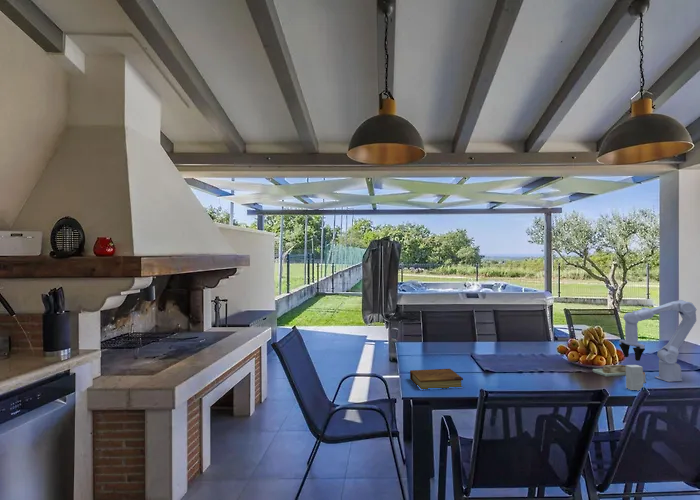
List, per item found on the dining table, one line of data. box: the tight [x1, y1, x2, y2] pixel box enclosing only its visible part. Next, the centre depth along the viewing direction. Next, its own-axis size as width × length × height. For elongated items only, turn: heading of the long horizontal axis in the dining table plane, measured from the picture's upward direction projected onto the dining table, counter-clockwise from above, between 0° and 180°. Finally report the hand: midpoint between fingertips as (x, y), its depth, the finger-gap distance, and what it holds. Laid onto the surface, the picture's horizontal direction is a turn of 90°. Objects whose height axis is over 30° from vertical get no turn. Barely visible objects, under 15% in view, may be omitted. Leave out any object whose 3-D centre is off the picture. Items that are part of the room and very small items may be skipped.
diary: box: [409, 368, 464, 389], centre depth 213 cm, size 23×19×6 cm
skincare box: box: [625, 364, 644, 392], centre depth 200 cm, size 6×4×12 cm
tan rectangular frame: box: [601, 364, 626, 373], centre depth 228 cm, size 14×5×3 cm, turn 98°
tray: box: [592, 368, 626, 378], centre depth 228 cm, size 20×10×2 cm, turn 98°
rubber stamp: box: [643, 371, 647, 384], centre depth 212 cm, size 3×4×5 cm, turn 8°
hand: (631, 358), depth 222 cm, fingers open, 7 cm apart
